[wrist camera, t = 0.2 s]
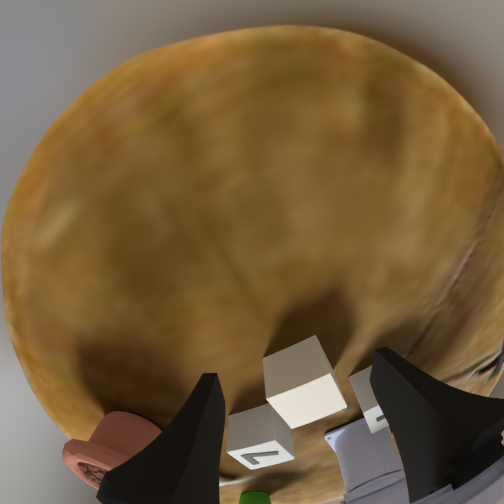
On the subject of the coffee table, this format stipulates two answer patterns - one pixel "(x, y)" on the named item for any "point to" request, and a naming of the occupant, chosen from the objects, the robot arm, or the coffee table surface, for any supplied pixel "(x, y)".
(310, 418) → the cream block
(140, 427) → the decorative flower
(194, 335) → the coffee table surface
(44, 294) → the coffee table surface
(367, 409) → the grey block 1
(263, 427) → the white marked cube 7
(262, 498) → the cup
